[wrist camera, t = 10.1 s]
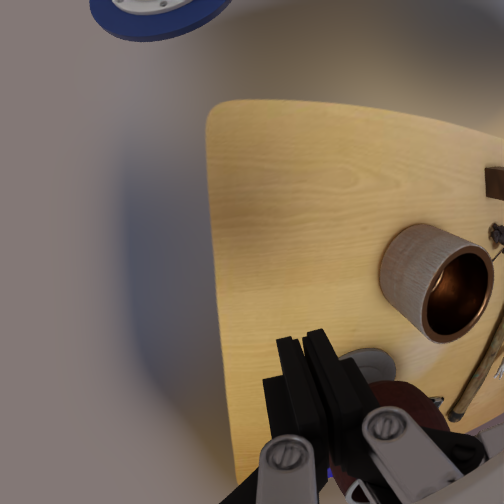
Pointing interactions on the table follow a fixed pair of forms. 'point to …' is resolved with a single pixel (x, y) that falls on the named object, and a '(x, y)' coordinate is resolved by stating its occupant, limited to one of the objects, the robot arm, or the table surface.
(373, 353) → the mate gourd
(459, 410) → the hammer
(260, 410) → the table surface
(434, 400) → the graphics card
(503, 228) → the figurine
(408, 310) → the planter
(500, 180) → the block
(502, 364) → the white elongated piece
